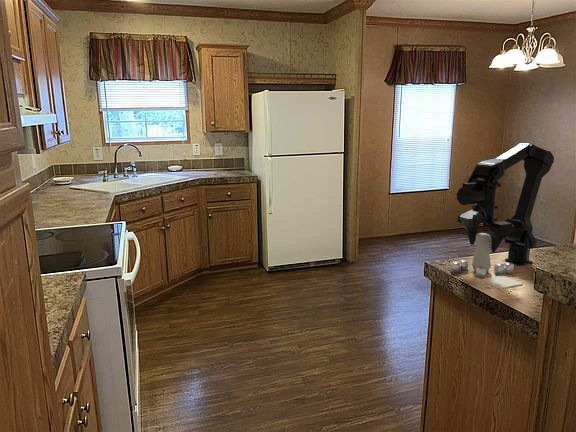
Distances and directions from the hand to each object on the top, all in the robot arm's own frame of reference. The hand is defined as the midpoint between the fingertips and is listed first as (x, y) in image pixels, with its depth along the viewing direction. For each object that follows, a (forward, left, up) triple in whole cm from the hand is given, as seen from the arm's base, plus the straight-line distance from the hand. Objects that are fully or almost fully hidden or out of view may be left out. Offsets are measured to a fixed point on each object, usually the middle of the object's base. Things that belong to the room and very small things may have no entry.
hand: (482, 248), depth 149 cm
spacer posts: (0, 0, -8) cm, 8 cm away
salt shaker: (0, 0, -8) cm, 8 cm away
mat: (+2, +11, -8) cm, 13 cm away
